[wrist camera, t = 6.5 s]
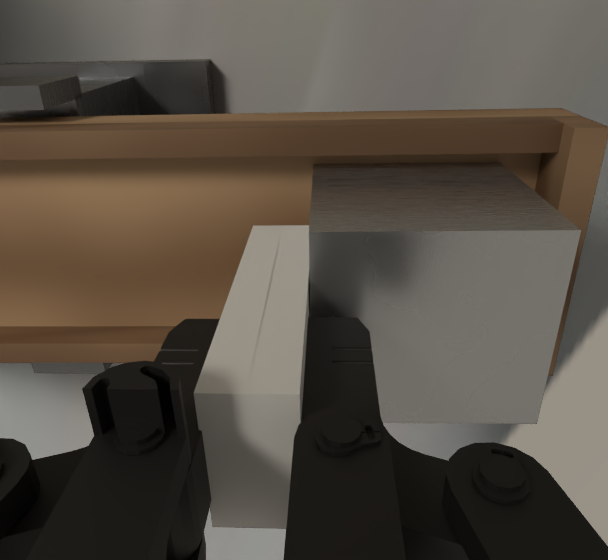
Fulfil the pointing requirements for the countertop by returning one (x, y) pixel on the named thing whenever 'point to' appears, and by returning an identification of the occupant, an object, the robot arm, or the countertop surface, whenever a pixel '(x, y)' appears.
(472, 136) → the wooden tray
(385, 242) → the block
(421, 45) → the countertop surface
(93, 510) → the robot arm
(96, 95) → the fulcrum
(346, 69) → the countertop surface
